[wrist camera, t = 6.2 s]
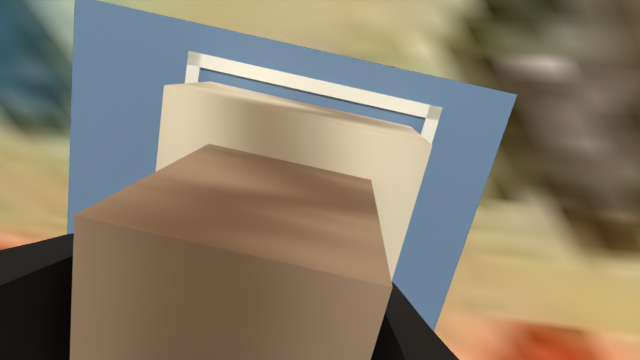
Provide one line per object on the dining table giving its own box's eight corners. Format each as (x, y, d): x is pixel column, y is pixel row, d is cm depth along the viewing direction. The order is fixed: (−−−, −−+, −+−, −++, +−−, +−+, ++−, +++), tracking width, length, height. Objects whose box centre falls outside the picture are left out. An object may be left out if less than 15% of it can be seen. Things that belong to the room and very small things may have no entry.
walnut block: (371, 179, 12) (392, 287, 6) (334, 319, 13) (323, 514, 7) (209, 143, 12) (74, 214, 6) (190, 286, 13) (66, 455, 7)
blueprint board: (510, 94, 15) (518, 94, 14) (400, 411, 20) (402, 423, 19) (85, -2, 15) (73, -5, 15) (71, 336, 20) (62, 345, 19)
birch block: (410, 126, 15) (432, 145, 11) (361, 301, 17) (365, 367, 14) (210, 81, 15) (164, 85, 11) (186, 261, 17) (141, 315, 14)
